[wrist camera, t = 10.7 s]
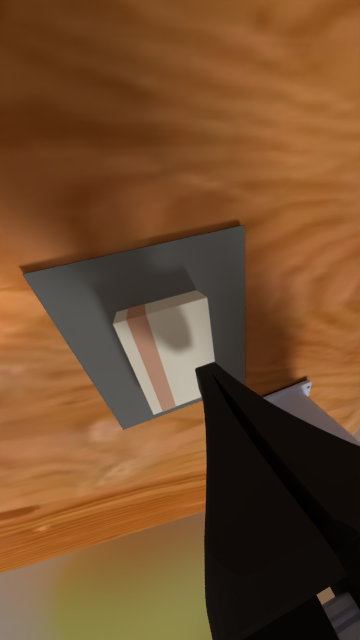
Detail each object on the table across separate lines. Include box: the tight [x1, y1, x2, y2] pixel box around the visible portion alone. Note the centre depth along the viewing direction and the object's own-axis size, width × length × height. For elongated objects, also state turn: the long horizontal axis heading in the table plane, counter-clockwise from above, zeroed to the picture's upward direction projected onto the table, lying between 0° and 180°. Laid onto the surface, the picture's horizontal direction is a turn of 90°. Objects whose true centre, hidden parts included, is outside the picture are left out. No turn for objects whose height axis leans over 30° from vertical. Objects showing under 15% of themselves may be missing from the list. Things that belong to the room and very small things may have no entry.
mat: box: [23, 225, 245, 430], centre depth 14 cm, size 16×14×1 cm
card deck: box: [113, 290, 215, 415], centre depth 13 cm, size 9×2×6 cm
